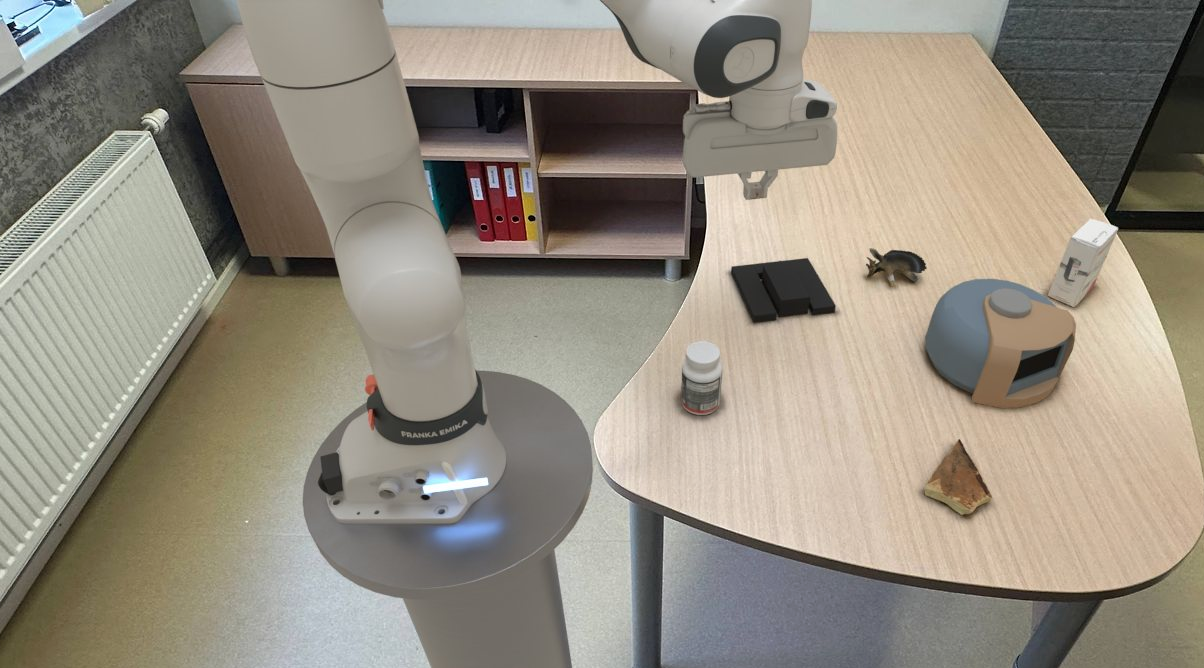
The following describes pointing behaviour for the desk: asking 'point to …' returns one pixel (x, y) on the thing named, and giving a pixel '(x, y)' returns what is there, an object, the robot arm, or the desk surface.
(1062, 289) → the ink box
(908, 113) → the desk surface
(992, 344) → the alarm clock
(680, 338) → the desk surface
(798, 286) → the small black block
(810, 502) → the desk surface
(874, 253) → the toy dinosaur figure
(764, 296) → the base pad
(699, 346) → the pill bottle
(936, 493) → the shard
